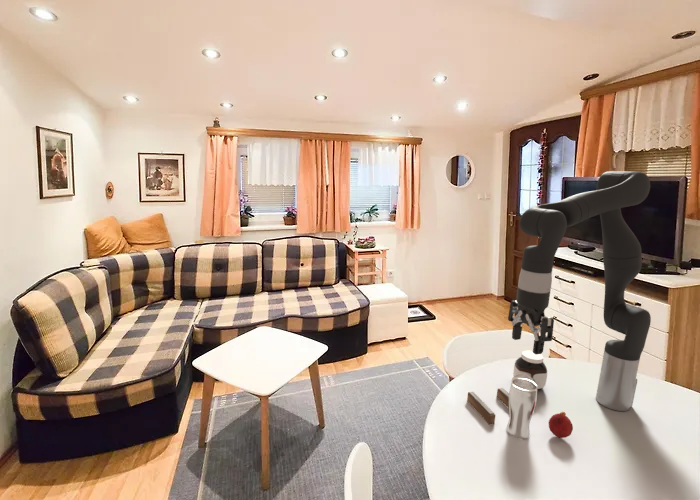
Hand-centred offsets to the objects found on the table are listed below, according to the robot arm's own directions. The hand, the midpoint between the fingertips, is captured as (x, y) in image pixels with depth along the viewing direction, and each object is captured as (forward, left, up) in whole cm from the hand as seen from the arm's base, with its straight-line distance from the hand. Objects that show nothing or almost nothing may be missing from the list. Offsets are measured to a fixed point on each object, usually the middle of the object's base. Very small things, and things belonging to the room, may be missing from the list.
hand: (526, 346), depth 101 cm
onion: (-12, +3, -28) cm, 30 cm away
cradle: (-2, -12, -27) cm, 30 cm away
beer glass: (-2, -2, -28) cm, 28 cm away
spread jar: (-20, -21, -28) cm, 40 cm away
